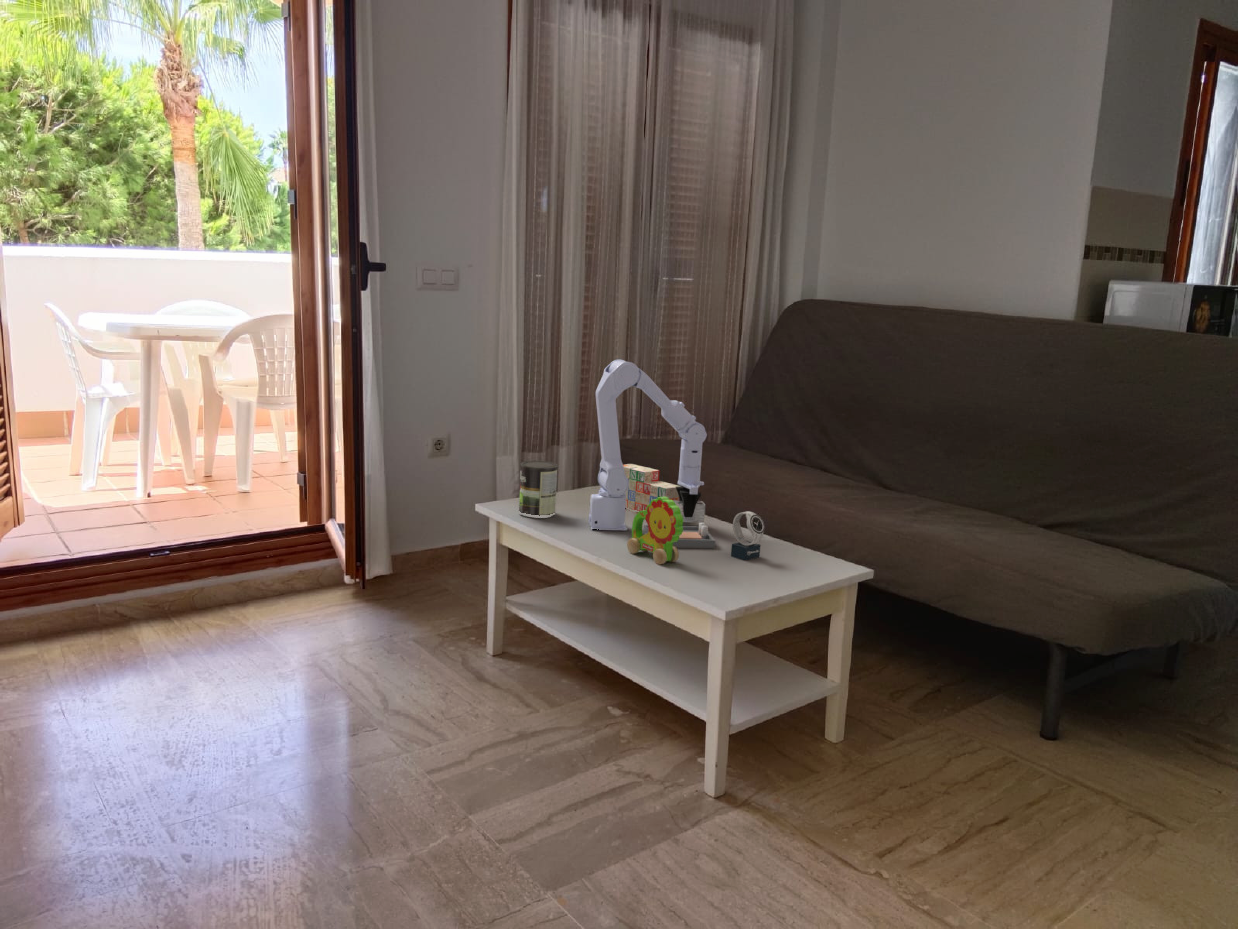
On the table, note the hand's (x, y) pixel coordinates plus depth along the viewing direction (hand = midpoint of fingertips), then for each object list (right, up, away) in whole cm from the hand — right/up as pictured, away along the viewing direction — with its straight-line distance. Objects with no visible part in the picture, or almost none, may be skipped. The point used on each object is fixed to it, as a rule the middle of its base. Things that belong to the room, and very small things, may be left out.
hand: (686, 514), depth 248 cm
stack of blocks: (-11, 0, +15) cm, 19 cm away
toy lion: (-10, -9, -32) cm, 35 cm away
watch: (+12, -9, -27) cm, 31 cm away
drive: (0, -2, 0) cm, 2 cm away
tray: (-3, -6, -15) cm, 16 cm away
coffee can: (-41, 0, +5) cm, 41 cm away
